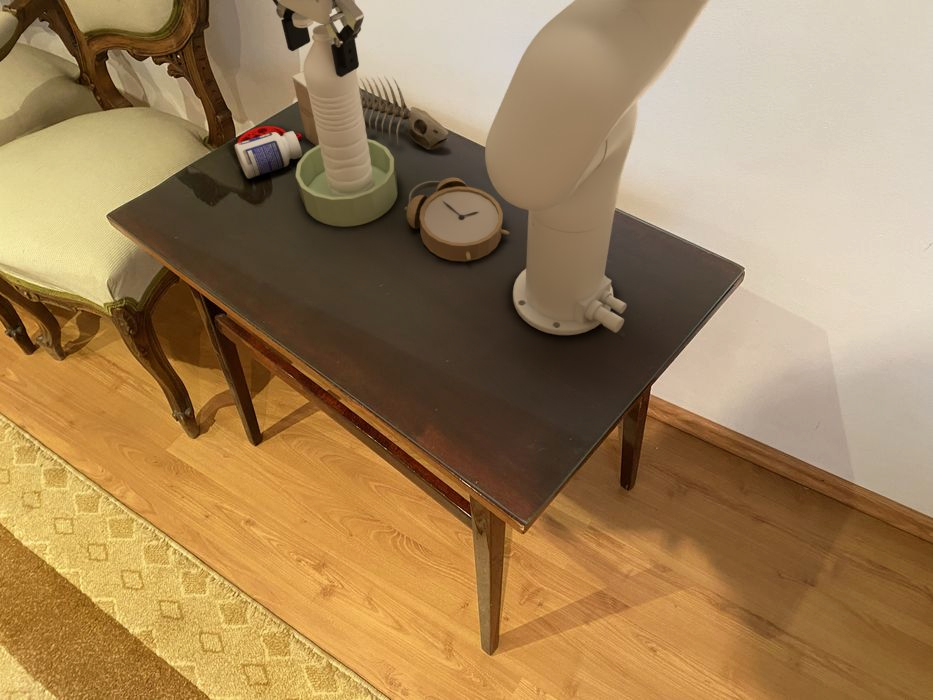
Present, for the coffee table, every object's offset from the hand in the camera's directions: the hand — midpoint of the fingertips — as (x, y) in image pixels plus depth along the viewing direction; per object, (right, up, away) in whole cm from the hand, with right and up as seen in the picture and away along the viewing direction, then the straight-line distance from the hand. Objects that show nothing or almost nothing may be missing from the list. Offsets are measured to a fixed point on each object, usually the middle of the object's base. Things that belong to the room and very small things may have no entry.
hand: (323, 58), depth 91 cm
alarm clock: (+16, -19, +12) cm, 28 cm away
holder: (+1, -13, +17) cm, 22 cm away
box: (-4, -3, +26) cm, 26 cm away
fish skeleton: (+3, -1, +27) cm, 27 cm away
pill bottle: (-16, -8, +18) cm, 26 cm away
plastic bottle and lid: (+1, -13, +16) cm, 21 cm away
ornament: (-18, -4, +24) cm, 31 cm away
